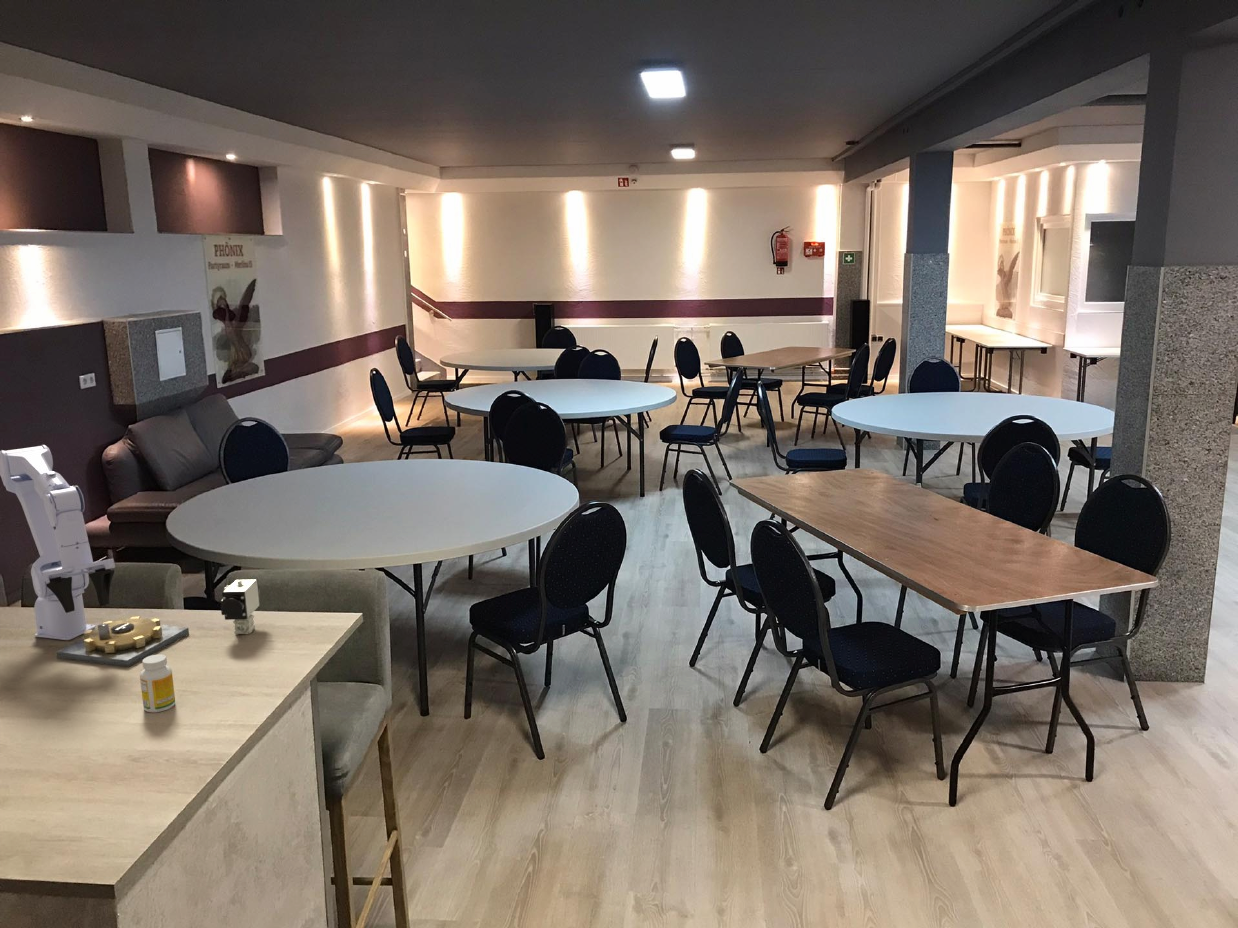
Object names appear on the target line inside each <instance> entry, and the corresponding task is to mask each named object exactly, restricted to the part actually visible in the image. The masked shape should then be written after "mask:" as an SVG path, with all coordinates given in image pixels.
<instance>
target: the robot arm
mask: <svg viewBox="0 0 1238 928" xmlns="http://www.w3.org/2000/svg"><path fill="white" fill-rule="evenodd" d="M53 467H54V460H53V455H52V452H51V450H50V447H48V446H47V445H45V444H41V445H37V446H31V447H24V448H17V449H16V448H15V449H8V450H3V449H1V450H0V478H1V481H2V483H3V486H4V487H5V489H6V492H7V491H8V492H11V493H13V494H15V495H16V497H17V499H18V501H19V502H20V504H21V507H22V510H23V512H24V515H25V518H26V521H27V525H28V526H29V528H30V529H29V530H30V532H31V534H32V537H33V540H34V543H35V546H36V548H37V549H36V550H37V551H38V555H39V557H38V558H37V559H36V560H35V562H33V564H32V565H31V569H30V575H31V579H32V585H33V589H34V592H35V595H36V596H37V599H36V600H35V603H34V607H33V609H34V618H35V624H36V629H37V630H36V631H37V633H35V634H34V637H36V638H46V639H52V640H53V639H55V640H62V641H71V640H73V639H75V638H77V637H79V636H81V635H84V633H85V632H86V631H87V630H94V629H95V628H97V625H96V624H90V623H89V624H88V623H87V619H86V613H85V607H84V599H83V594H84V593H85V589H87V588H88V586H89V584H90V580H91V582H92V584H93V587H94V588H95V592H96V596H97V597H96V598H97V601H98V603H99V606H100V607H102V606H103V607H104V606H106V605H109V604H110V590H111V584H112V581H113V577H114V574H115V570H114V568H116V564H115V560H114V558H108V559H103V560H99V561H94V560H93V555H92V551H91V546H90V542H89V538H88V533H87V529H86V523H85V519H84V515H83V513H84V511H85V507H86V506H85V499H84V494H83V493H82V490H81V488H80V487H79V486H78V485H72V486H71V485H70V484H69V483H68V482H67V480H66V479H65V478H64V477H63V476H62V475H61V474H60V473H59V472H57V471H53Z"/></svg>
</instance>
